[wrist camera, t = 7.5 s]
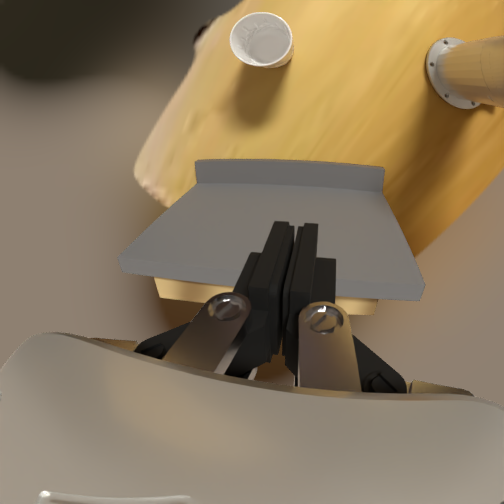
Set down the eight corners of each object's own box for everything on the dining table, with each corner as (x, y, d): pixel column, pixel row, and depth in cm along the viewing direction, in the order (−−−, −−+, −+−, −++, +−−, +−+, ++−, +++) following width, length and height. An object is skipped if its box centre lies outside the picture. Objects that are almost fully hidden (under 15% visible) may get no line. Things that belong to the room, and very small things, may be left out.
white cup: (290, 76, 38) (283, 72, 30) (242, 65, 38) (223, 60, 30) (303, 33, 34) (298, 18, 25) (254, 23, 34) (237, 8, 26)
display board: (382, 167, 42) (437, 248, 21) (375, 221, 48) (407, 329, 26) (198, 159, 49) (107, 225, 27) (203, 210, 54) (131, 298, 33)
